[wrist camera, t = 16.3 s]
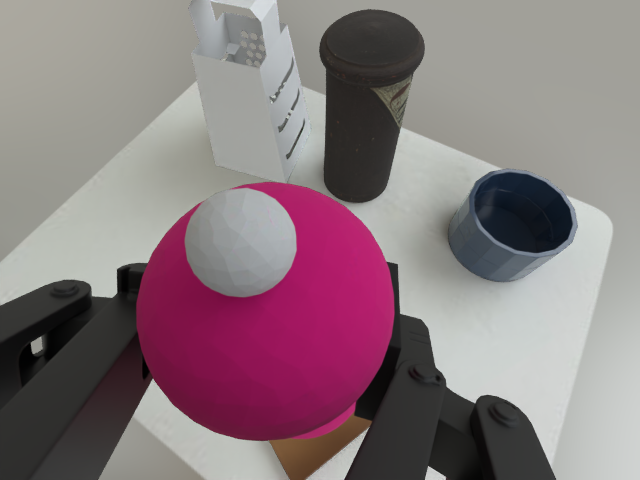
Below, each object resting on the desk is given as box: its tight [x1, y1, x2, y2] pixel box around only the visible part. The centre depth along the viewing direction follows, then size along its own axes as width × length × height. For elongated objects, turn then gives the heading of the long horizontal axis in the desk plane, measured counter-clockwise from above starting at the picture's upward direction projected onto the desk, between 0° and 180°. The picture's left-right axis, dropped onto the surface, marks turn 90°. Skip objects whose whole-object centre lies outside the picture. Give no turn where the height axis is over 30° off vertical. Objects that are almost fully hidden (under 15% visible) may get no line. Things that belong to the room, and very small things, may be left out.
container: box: [319, 9, 425, 202], centre depth 37 cm, size 9×9×20 cm
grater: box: [188, 0, 312, 183], centre depth 40 cm, size 10×10×20 cm
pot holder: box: [269, 411, 372, 480], centre depth 34 cm, size 12×12×1 cm
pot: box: [448, 169, 578, 282], centre depth 38 cm, size 11×11×7 cm
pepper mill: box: [136, 182, 395, 441], centre depth 14 cm, size 7×7×20 cm
